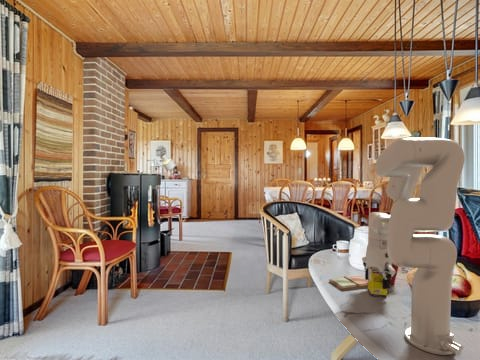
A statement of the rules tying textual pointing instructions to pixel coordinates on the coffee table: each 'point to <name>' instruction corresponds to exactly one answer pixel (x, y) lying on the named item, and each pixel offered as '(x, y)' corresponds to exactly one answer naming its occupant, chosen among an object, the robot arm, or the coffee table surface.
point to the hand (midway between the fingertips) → (377, 283)
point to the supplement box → (376, 283)
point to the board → (350, 283)
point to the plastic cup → (394, 274)
